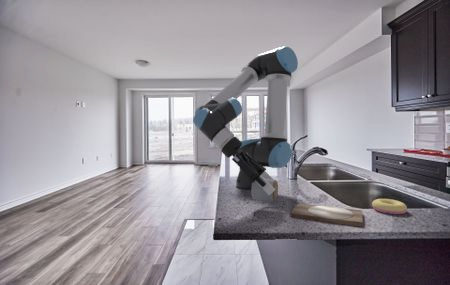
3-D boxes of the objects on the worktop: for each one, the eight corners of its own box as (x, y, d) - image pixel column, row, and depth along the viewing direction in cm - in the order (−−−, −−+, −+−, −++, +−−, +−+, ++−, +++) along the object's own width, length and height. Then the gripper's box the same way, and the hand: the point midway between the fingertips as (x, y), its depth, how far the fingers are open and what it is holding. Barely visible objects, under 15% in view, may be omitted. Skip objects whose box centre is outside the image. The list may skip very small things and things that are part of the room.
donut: (387, 212, 90) (365, 210, 88) (387, 198, 91) (365, 196, 89) (414, 216, 81) (390, 214, 79) (414, 201, 81) (390, 199, 79)
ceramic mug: (275, 203, 84) (275, 180, 83) (251, 201, 87) (250, 179, 86) (280, 195, 94) (279, 175, 93) (258, 194, 96) (257, 174, 96)
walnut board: (298, 206, 91) (298, 202, 91) (362, 213, 82) (362, 209, 82) (289, 217, 80) (289, 213, 80) (362, 227, 70) (362, 222, 70)
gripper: (229, 148, 103) (270, 189, 99) (210, 153, 83) (261, 205, 79) (241, 134, 101) (284, 176, 97) (226, 136, 81) (278, 189, 77)
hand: (273, 189), depth 88 cm, fingers closed on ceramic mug, 8 cm apart
